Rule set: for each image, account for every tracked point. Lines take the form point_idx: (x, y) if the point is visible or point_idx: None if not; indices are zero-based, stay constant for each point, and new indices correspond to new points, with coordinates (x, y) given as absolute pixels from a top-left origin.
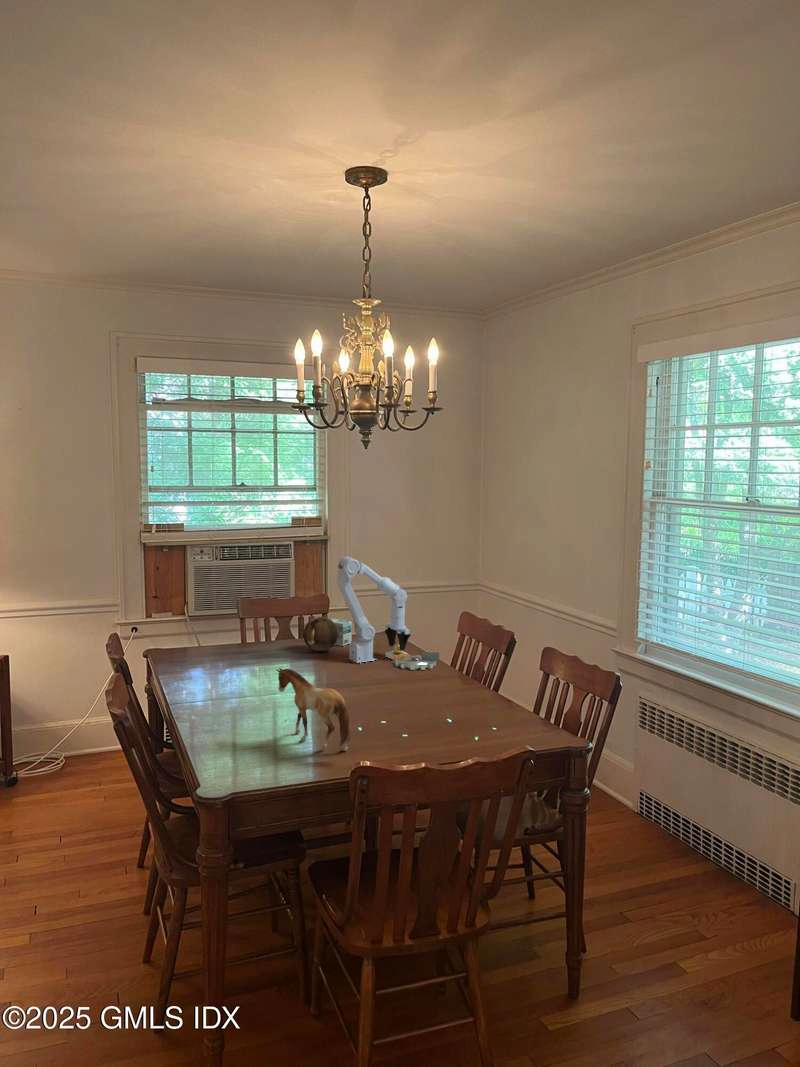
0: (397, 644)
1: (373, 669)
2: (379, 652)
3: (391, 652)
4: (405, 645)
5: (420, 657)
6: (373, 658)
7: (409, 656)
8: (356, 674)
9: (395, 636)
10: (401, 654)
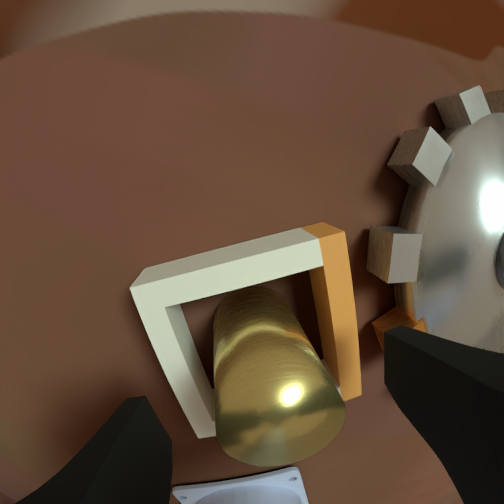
0: (307, 433)
1: (419, 466)
2: (42, 386)
3: (199, 390)
4: (446, 344)
5: (484, 174)
6: (255, 482)
7: (434, 265)
8: (426, 496)
9: (93, 493)
10: (345, 327)
